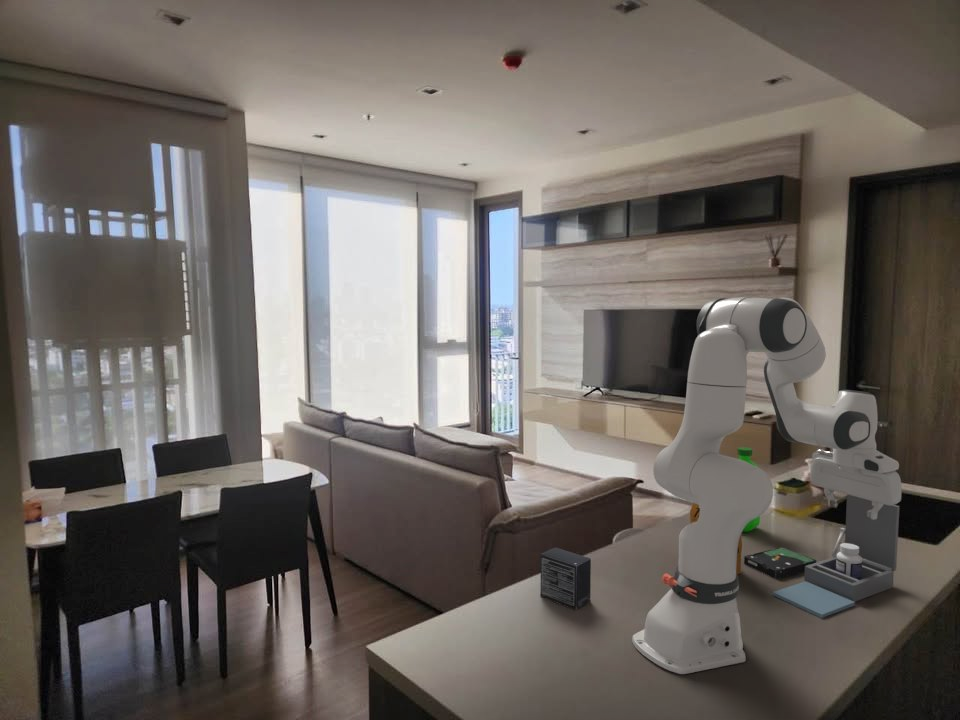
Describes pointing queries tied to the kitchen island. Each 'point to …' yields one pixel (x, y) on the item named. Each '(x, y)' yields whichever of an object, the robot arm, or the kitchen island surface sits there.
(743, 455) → the plastic bottle
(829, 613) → the mat
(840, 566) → the pill bottle
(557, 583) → the small box
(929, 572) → the kitchen island surface
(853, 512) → the hinged lid box
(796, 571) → the disk drive
